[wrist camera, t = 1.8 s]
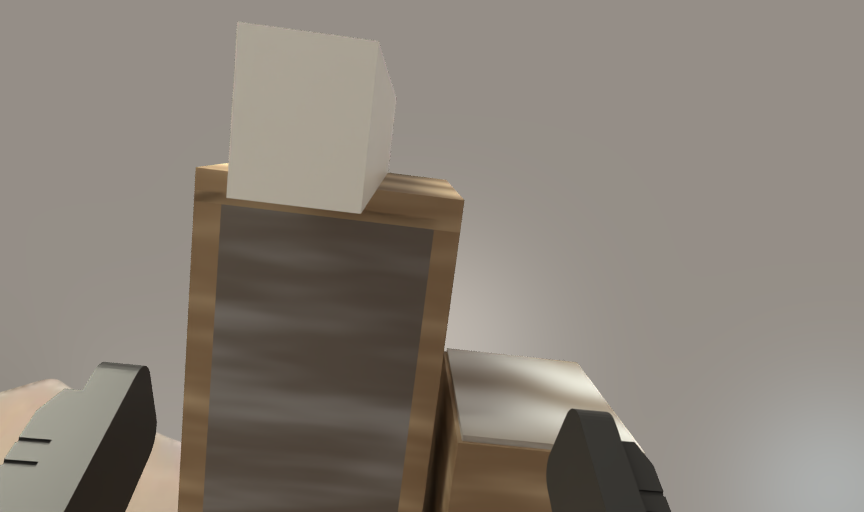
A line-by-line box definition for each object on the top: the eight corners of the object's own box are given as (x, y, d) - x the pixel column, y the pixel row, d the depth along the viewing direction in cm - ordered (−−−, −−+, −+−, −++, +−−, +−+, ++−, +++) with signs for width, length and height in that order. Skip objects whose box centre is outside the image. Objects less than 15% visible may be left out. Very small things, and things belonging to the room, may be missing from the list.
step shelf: (572, 826, 32) (697, 233, 26) (148, 801, 30) (178, 169, 24) (518, 598, 47) (588, 197, 41) (237, 575, 46) (268, 157, 40)
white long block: (360, 213, 18) (380, 26, 17) (226, 197, 18) (238, 6, 17) (388, 172, 42) (397, 92, 41) (330, 164, 41) (338, 84, 40)
